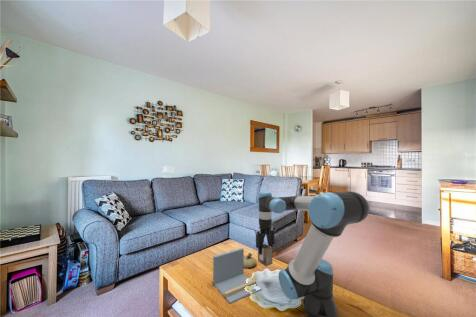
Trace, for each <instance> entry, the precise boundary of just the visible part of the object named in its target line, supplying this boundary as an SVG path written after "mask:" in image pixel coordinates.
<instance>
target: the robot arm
mask: <svg viewBox="0 0 476 317" xmlns="http://www.w3.org/2000/svg"><path fill="white" fill-rule="evenodd" d="M286 211H287V212H288V211H305V212H308V217H309V221H310V224H311V226H310V227H309V229H308V232H307V234H306V235H305V238H304V240H303V242H302V244H301V246H300V248H299V250H298V253H297V255H296V256H295V258H294V259H291V260H290V261H289V262H288V265H287V267H286V268H285V269H284V268H282V269H281V270H279V272H278V276H277V277H278V282H279V283H278V284H279V287H280V289H281V291H282V293H283V295H284V296H285V297H286V298H287V299H289V300H298V299H299V298H302V297H303V298H302V308H303V311H304V312H305V314H306V315H307V316H309V317H338V307H337V305H336V301H335V298H334V272H333V271H334V270H333V266H332V264H331V263H330V262H329V261H327V260H325V259H323V257H324V256H325V254H326V253H327V250H328V248H329V247H330V245H331V243H332V242H333V240H334V238H338V237H341V235H342V234H343V233H344V231H345V228H346V227H347V226H348V225H352V224H357V223H361V222H362V221H365V219H366V218H367V217H368V216H369V213H370V205H369V202H368V201H367V199H366V197H364V196H363V195H362V194H360V193H359V192H356V191H349V190H348V191H338V192H323V193H319V194H317V195H315V196H314V195H292V196H291V195H290V196H278V197H277V196H276V197H275V196H272V192H271V191H269V190H267V191H266V190H265V191H262V190H261V191H259V192H258V225H259V227H258V229H257V230H256V229H255V231H254V232H255V247H256V248H257V250H258V249H259V254H260V259H261V260H262V261H264V249H263V244H265V243H264V241H265V238H266V241H267V245H268V246H269V247H271V248H272V249H273V246H274V245H275V231H276V230H275V229H276V227H275V226H272V225H273V223H272V222H273V221H272V220H273V219H272V217H273V214H272V212H273V213H275V214H283V213H284V212H286Z"/></svg>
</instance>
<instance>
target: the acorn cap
mask: <svg viewBox="0 0 476 317" xmlns="http://www.w3.org/2000/svg"><path fill="white" fill-rule="evenodd" d="M252 256H253V254H252V253H251V252H248V254H247V255H245V256H244V269H249V268H253V267H256V265H257V263H258V260H257V259H256V258H255V257H252Z"/></svg>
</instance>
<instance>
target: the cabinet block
mask: <svg viewBox="0 0 476 317" xmlns="http://www.w3.org/2000/svg"><path fill="white" fill-rule="evenodd" d="M263 249H264V261H262V260H261V259H260V254H259V249H258V248H257V262H259V263H260V264H261V265H263V266H265V267H268V266H270V265H273V247H272V248H271V247H269V246H268V244H266V243H263Z"/></svg>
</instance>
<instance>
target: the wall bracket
mask: <svg viewBox="0 0 476 317" xmlns="http://www.w3.org/2000/svg"><path fill="white" fill-rule="evenodd" d="M244 252H245V251H244V248H243V247H240V248H236V249H233V250H229V251H225V252H223V253H218V254H216V255H213V256H212V285H213V286H214V287H215V288H216V289H217V291H219V293H220V294H221V295H222V296H223V298H224V299H225V300H226V302H228V304H233V303H236V302H237V301H240V300H242V299H244V298H246V297H248V296H251V295H250V292H247V291H245V289H244V288H245V287H246V286H251V285H254V284H256V285H257V280H255V279H253V280H252V281H251V282H248V283H246V281H245V280H246V279H247V278H249V277H248V276H247V275H246V274H245V273H244V269H245V268H244ZM251 291H252V292H255V291H256V289H252V290H251ZM255 293H256V292H255Z"/></svg>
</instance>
